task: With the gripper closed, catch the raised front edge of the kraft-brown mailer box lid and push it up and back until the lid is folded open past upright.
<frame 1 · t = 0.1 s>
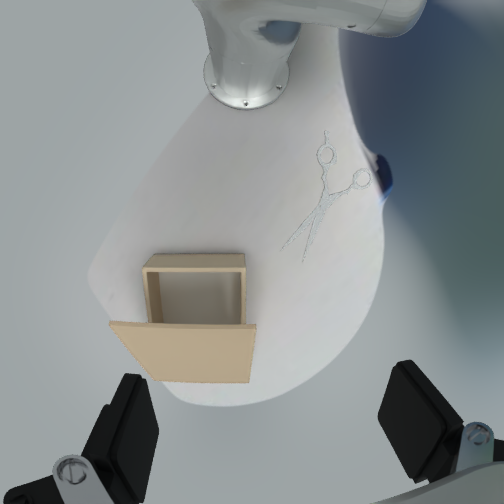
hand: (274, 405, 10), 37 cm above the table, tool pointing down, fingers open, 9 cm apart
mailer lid: (192, 360, 36), point 13 cm above the table, hinge at 35.0°
scissors: (322, 202, 46), on the table
mailer box: (200, 307, 48), on the table
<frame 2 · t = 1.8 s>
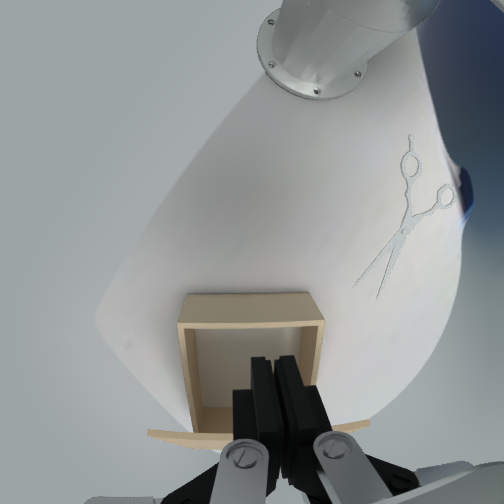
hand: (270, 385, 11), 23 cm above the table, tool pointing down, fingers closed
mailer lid: (254, 443, 24), point 13 cm above the table, hinge at 35.0°
scissors: (402, 224, 34), on the table
mailer box: (248, 357, 37), on the table
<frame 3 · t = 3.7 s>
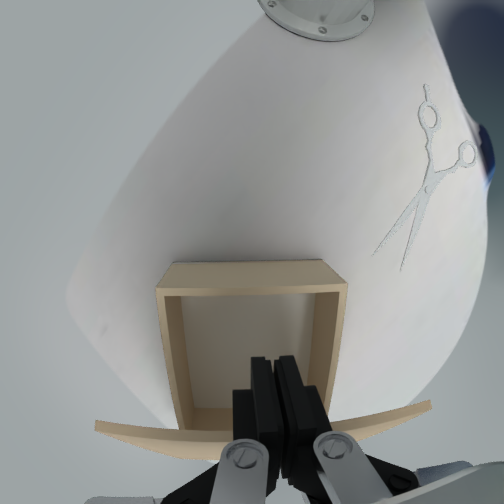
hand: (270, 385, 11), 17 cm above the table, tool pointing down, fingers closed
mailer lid: (259, 450, 18), point 13 cm above the table, hinge at 34.3°, touching gripper
scissors: (424, 182, 28), on the table
mailer box: (248, 345, 30), on the table
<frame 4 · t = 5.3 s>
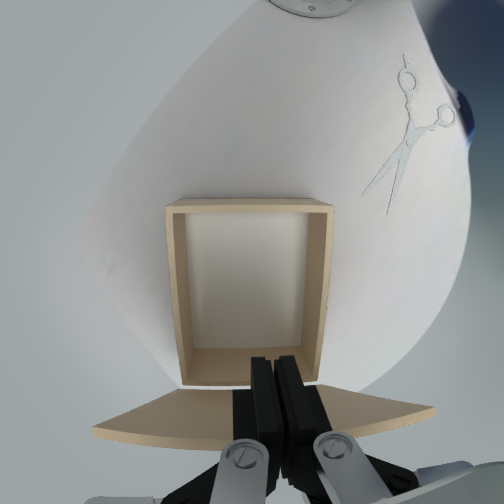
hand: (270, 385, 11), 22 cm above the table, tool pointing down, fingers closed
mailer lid: (257, 406, 19), point 16 cm above the table, hinge at 55.2°, touching gripper
scissors: (406, 137, 31), on the table
mailer box: (247, 280, 33), on the table
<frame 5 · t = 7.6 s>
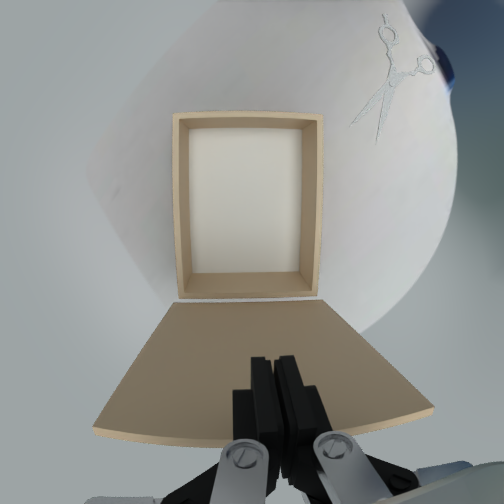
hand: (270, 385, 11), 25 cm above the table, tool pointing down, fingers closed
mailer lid: (256, 345, 20), point 17 cm above the table, hinge at 82.1°, touching gripper
scissors: (389, 80, 32), on the table
mailer box: (245, 200, 34), on the table
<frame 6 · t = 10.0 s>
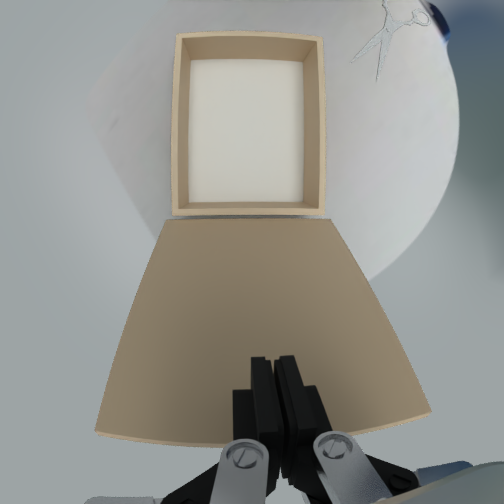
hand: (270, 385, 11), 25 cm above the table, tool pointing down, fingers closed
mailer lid: (256, 291, 19), point 17 cm above the table, hinge at 107.2°, touching gripper
scissors: (386, 28, 29), on the table
mailer box: (246, 127, 32), on the table
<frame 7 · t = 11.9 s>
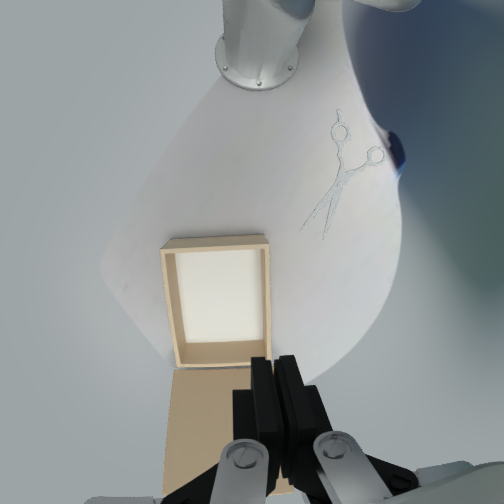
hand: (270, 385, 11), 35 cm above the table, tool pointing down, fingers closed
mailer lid: (225, 428, 33), point 17 cm above the table, hinge at 107.2°
scissors: (338, 179, 44), on the table
mailer box: (220, 293, 47), on the table
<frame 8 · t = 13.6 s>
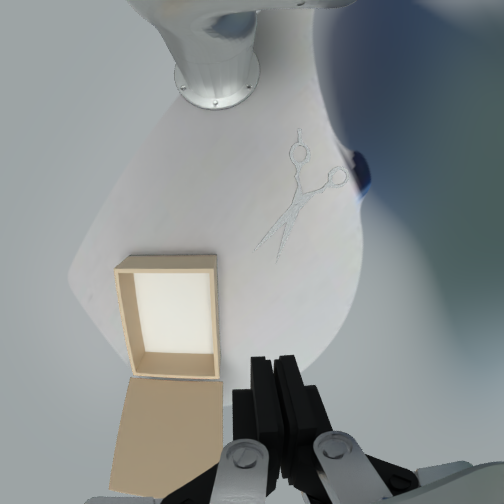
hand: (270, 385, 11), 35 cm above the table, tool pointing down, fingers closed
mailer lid: (168, 436, 35), point 17 cm above the table, hinge at 107.2°
scissors: (295, 201, 45), on the table
mailer box: (175, 308, 48), on the table
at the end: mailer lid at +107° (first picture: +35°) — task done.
